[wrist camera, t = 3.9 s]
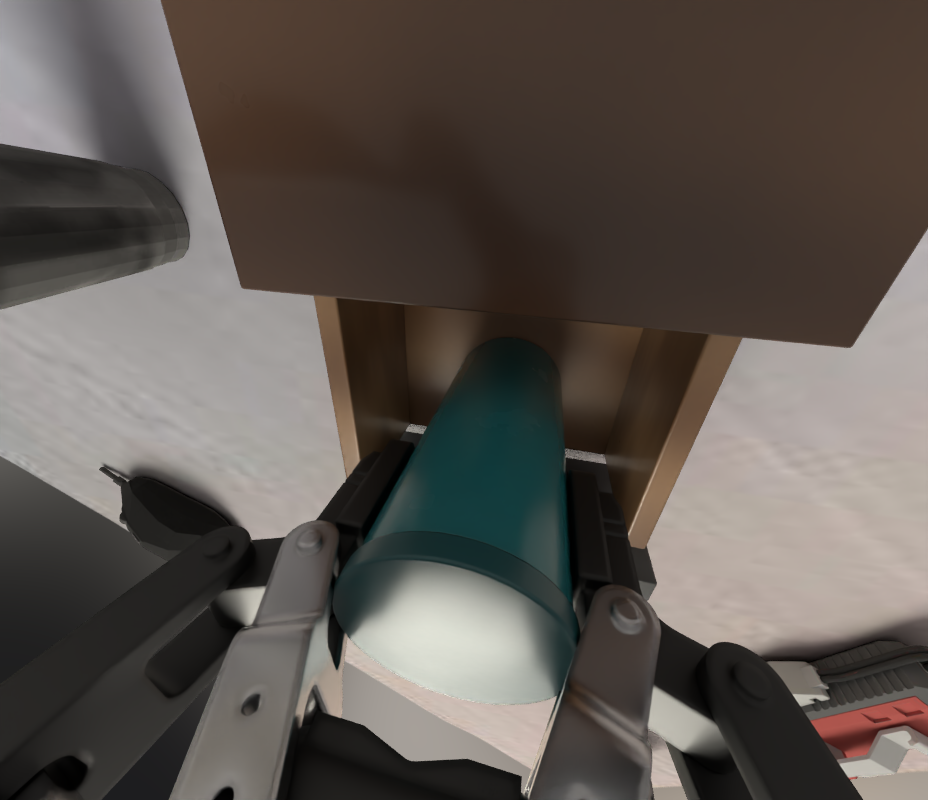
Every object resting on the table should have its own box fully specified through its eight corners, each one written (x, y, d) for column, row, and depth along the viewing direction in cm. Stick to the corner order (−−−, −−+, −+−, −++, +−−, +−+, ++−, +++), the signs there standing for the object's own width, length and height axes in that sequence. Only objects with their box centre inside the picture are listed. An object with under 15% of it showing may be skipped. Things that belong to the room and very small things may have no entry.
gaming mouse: (101, 445, 31) (45, 475, 28) (249, 526, 32) (214, 564, 29) (106, 486, 34) (57, 517, 31) (240, 557, 36) (207, 595, 32)
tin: (455, 422, 19) (347, 667, 9) (457, 329, 16) (309, 531, 6) (553, 437, 18) (556, 729, 8) (573, 341, 15) (613, 600, 5)
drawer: (601, 533, 22) (619, 654, 16) (398, 493, 24) (349, 586, 18) (727, 177, 12) (887, 156, 6) (371, 168, 15) (250, 145, 9)
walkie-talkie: (882, 610, 21) (643, 696, 32) (953, 697, 17) (656, 763, 28) (992, 674, 22) (722, 738, 32) (1083, 772, 18) (744, 808, 28)
